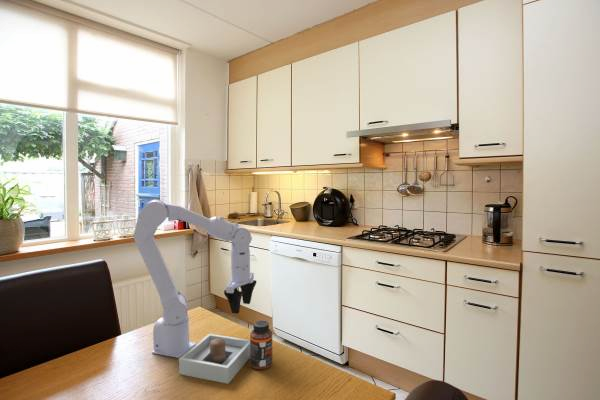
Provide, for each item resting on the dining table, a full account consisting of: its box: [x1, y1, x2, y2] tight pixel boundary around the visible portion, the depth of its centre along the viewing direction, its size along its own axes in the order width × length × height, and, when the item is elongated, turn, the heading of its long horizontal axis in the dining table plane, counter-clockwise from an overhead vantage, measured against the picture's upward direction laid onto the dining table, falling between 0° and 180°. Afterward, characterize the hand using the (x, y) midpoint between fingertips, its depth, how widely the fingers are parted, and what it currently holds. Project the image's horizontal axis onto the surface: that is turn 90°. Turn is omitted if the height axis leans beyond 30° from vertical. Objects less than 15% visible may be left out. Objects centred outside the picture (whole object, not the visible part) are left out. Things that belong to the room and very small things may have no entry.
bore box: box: [178, 333, 250, 385], centre depth 87 cm, size 14×14×4 cm
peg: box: [209, 339, 227, 364], centre depth 87 cm, size 4×4×6 cm
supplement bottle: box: [249, 320, 273, 371], centre depth 87 cm, size 6×6×11 cm
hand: (241, 308), depth 101 cm, fingers open, 7 cm apart
